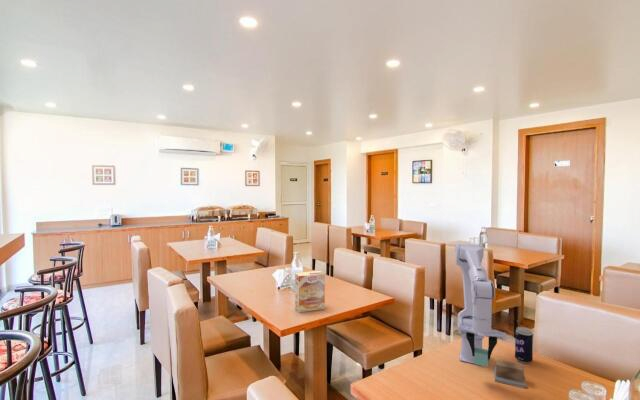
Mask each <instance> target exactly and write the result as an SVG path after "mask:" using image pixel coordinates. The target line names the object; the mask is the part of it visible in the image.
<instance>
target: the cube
mask: <svg viewBox="0 0 640 400" xmlns="http://www.w3.org/2000/svg"><path fill="white" fill-rule="evenodd" d="M473 365H477V366H482V367H486V368H488V365H489V359H488V349H487V348H483V347H482V348H476V347H475V356H474V363H473Z"/></svg>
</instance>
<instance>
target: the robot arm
mask: <svg viewBox="0 0 640 400" xmlns="http://www.w3.org/2000/svg"><path fill="white" fill-rule="evenodd" d="M454 247H455V248H454V253H455V254H454V255H455V262H456V266H459V267H460V269H461V274H462V275H461V276H462V288H463V303H464V304H463V305H464V308H463V309H462V310H461V311H459V312H458V314H457V321H456V322H457V324H456V325H457V331H458V332H457V333H459V334H460V335H461V349H460V354H459V361H460V362H465V363H470V364H474V356H475V347H476V348H482V349H483V340H484V338H485V337H487V338H488V349H487V350H488V361H489V360H491V356H492V353H493V351H494V349H495V347H496V346H497V344H498V339H500V340H502V341H505V342H506V341H507V332H503V331H501V330H497V329H492V316H493V315H492V313H493V312H492V309H493V308H492V306H493V303H492V302H493V301H492V300H494V298H495V294H496V293H495V285H494V282H493V281H492V280H491V279H489V277H488V274H487V270H486V269H485V267H483V266H482V262H483V258H484V254H485V253H484V246H483V245H482V244H481V243H459V242H456V244H455V246H454Z"/></svg>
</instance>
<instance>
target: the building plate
mask: <svg viewBox="0 0 640 400" xmlns="http://www.w3.org/2000/svg"><path fill="white" fill-rule="evenodd" d="M493 372H494V373H493V374H494V382H497V383H502V384H505V385H510V386H515V387H519V388H523V389H526V388H527V384H526V379H525V378H524V382H520V381H515V380H511V379H506V378H502V377H497V376H496V365H495V366H493Z"/></svg>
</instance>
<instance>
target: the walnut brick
mask: <svg viewBox="0 0 640 400" xmlns="http://www.w3.org/2000/svg"><path fill="white" fill-rule="evenodd" d="M495 367H496V376H497V377H502V378H506V379H511V380H515V381H520V382H524V379H525V374H524V373H525V370H524V365H523V364H520V363H515V362H510V361H506V360H505V361H504V360H502V359H501V360H500V359H496V360H495Z"/></svg>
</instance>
